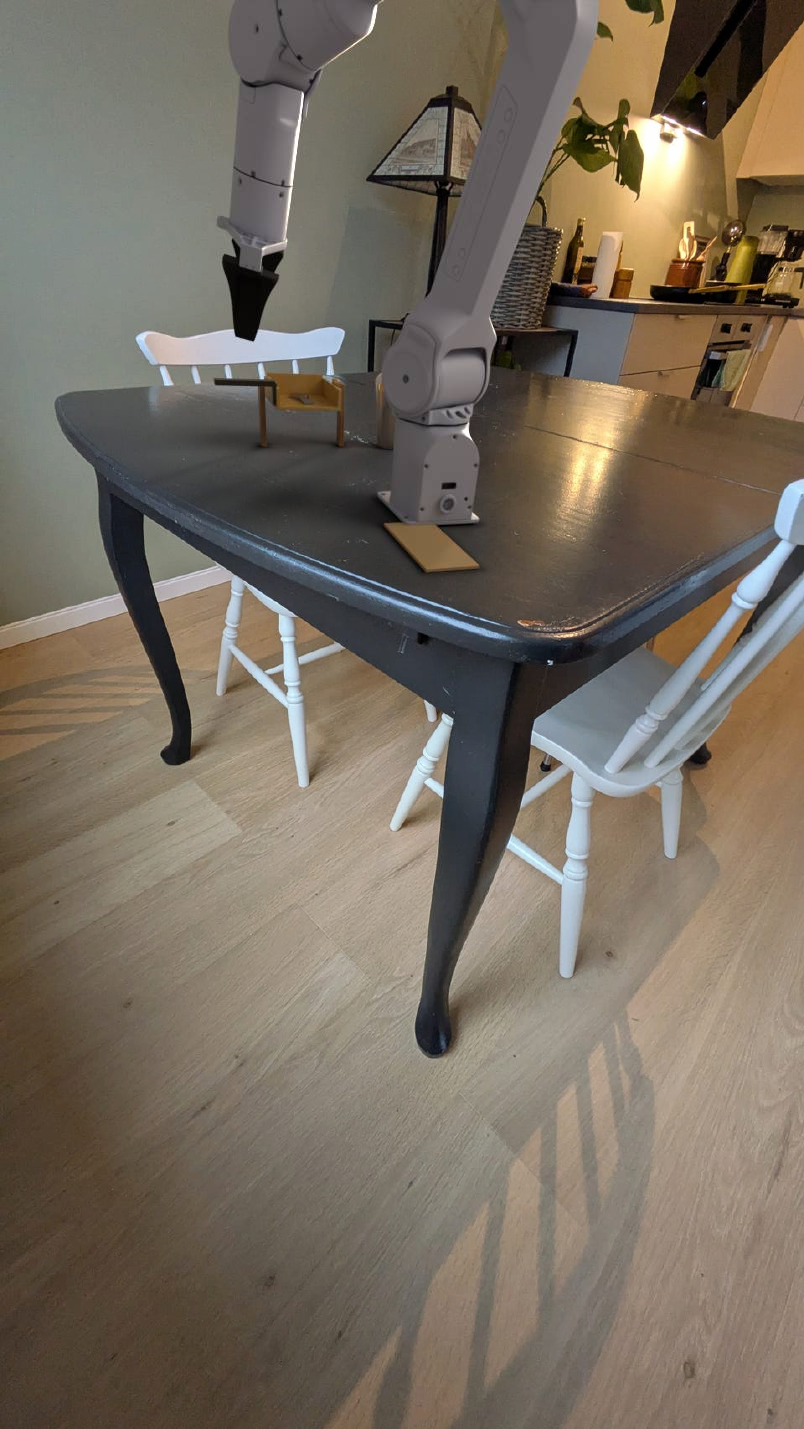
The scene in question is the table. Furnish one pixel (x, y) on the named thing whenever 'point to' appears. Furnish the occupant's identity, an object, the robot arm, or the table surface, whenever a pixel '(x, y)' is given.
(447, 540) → the mat
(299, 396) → the key
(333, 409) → the tray
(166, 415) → the table surface
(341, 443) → the stand
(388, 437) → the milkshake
